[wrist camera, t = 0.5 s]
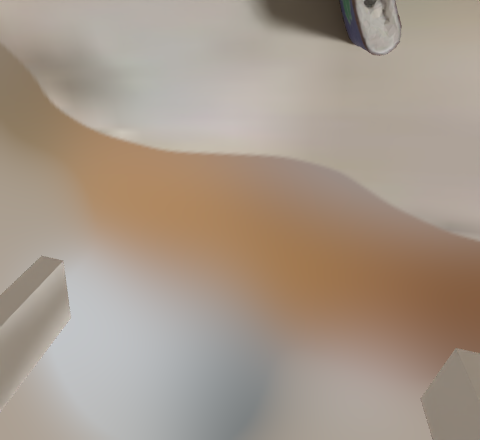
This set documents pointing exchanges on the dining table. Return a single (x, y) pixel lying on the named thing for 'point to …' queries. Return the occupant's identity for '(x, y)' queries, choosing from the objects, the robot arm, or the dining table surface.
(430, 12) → the dining table surface
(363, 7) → the dark blue box
